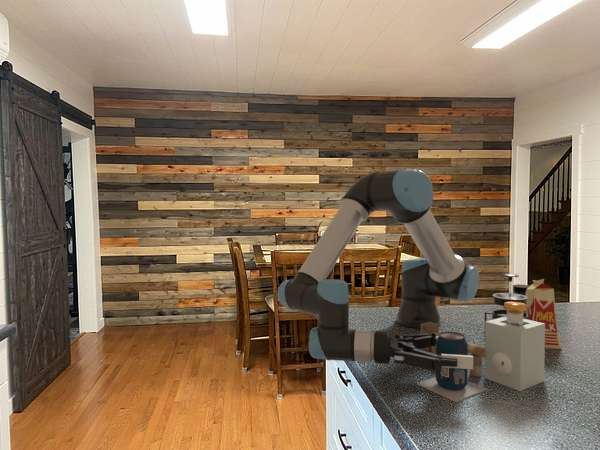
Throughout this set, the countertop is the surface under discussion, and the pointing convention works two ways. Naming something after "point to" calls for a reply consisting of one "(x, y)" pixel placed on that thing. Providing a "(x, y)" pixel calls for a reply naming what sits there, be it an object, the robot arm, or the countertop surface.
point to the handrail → (472, 349)
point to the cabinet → (514, 353)
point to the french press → (506, 300)
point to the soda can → (456, 346)
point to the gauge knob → (515, 313)
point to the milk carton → (543, 311)
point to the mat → (455, 396)
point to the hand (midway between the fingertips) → (468, 352)
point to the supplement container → (520, 289)
